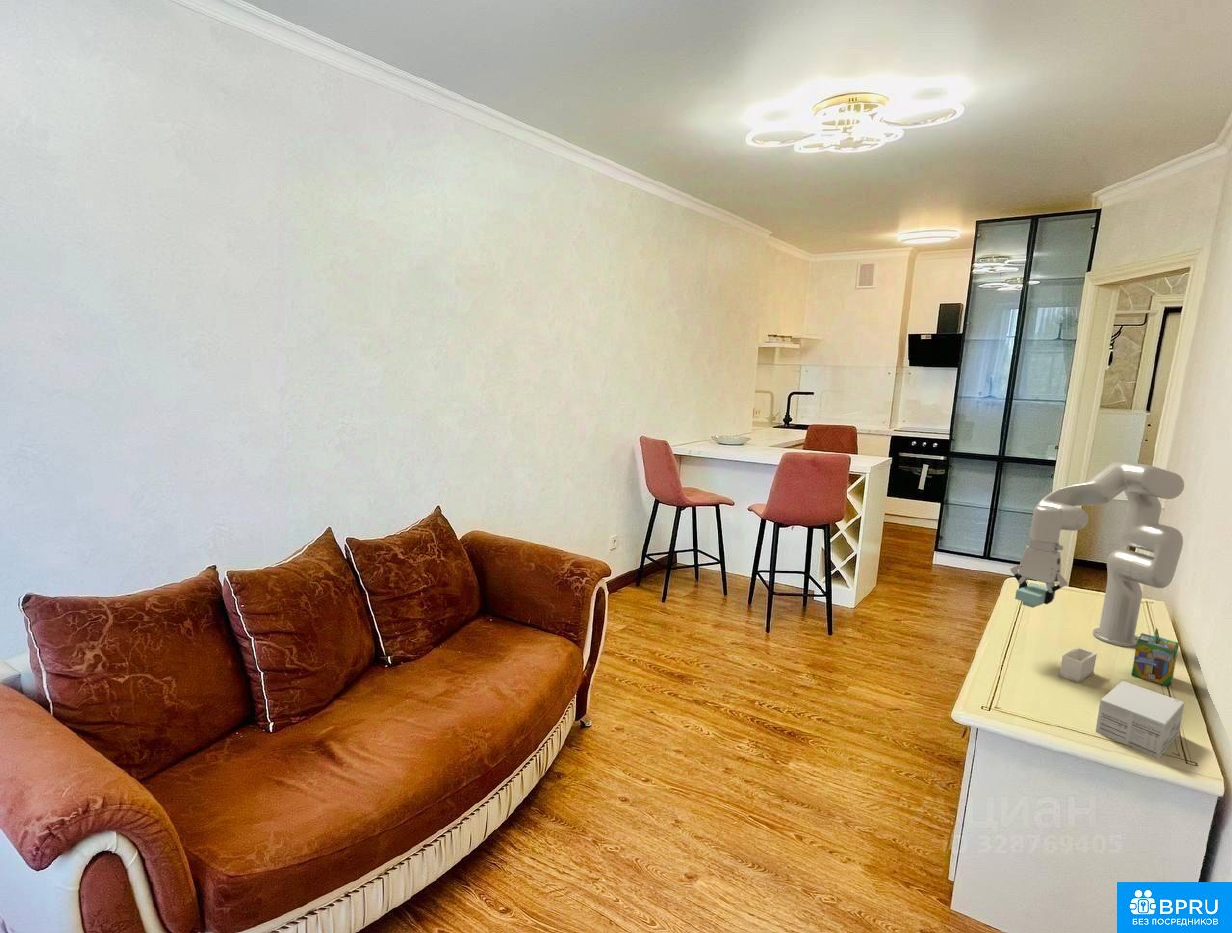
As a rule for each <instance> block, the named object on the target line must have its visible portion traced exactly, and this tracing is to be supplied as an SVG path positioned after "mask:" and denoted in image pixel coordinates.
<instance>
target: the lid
mask: <svg viewBox="0 0 1232 933" xmlns="http://www.w3.org/2000/svg"><path fill="white" fill-rule="evenodd" d="M1047 591H1048V589H1047V586H1044V585H1039V584H1036V583H1031V584H1027V586H1026V587H1023V588H1020V589H1019V588H1018V589H1016V591H1015V598H1014V599H1015V600H1018V601H1021V602H1022V603H1021V604H1022V606H1026V607H1029V608H1036V607H1038V606H1041V605H1045V603H1044V602H1045V595H1046V592H1047ZM1055 595H1056V591H1054V595H1053V600H1054V599H1055Z"/></svg>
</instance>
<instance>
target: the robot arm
mask: <svg viewBox="0 0 1232 933" xmlns="http://www.w3.org/2000/svg"><path fill="white" fill-rule="evenodd" d="M1184 489H1185V482H1184V479H1183V478H1182V476H1181V475H1180V474H1178V473H1176V472H1173V471H1169V470H1166V469H1164V468H1160V467H1157V466H1153V465H1149V464H1143V463H1137V462H1131V461H1124V460H1123V461H1122V460H1120V461H1119V460H1117V461H1114V462H1111V463H1109V464H1108V465H1107V466H1105V467H1104V468H1102V469H1101V470H1100V471H1099V472H1097V473H1095V475H1093V476H1092V477H1091V478H1089V479H1088V480H1087V481H1085V482H1082V483H1076V484H1072V485H1068V486H1065V487H1062V488H1058V489H1055V490H1054V491H1052V492H1050V493H1049V494H1047V495H1045V496H1044V497H1042V499H1041V500H1040V501H1039V502H1038V503H1037V504H1036V506H1035V507H1034V509H1033V512H1032V518H1031V525H1030V526H1031V527H1030V531H1029V539H1028V544H1027V545H1026V546H1025V548H1024V550H1023V553H1022V556H1021V558H1020V562H1019V563H1020V564H1018V565H1015V566H1013V567H1011V568H1010V572H1011V573H1012V574H1013V576H1014V578H1015V579H1016V581H1017V583H1018V589H1020V588H1023V587H1026V586H1028V583H1027V581H1028V580H1029V579H1030V580H1034V581H1038V582H1040V583H1044V584H1045V585H1046V586H1045V587H1047V589H1048V591H1047V592H1046V595H1045V602H1044V605H1049V604H1050V603H1052V602H1053V600H1054V599H1053V595H1054V591H1055V592H1056V591H1058V590H1061V589H1062V588H1064V587H1067V586H1068V585H1069V582H1067V581H1066V579H1065V577H1063V576H1062V575H1061V570H1062V569H1061V568H1062V565H1061V564H1062V559H1061V558H1062V556H1061V552H1060V551H1063V549H1064V545H1061V544H1060V535H1061V531H1073V532H1075V531H1079V530H1082V529H1084V528H1085V527H1086V526H1087V525H1088V523H1089V515H1088V513H1087V512H1086V510H1084V509H1082V508H1081V506H1083V507H1085V506H1088V507H1089V506H1100V505H1105V504H1107V503H1109V502H1111V501H1112V500H1113V499H1115V498H1116V497H1117V496H1118V495H1120V494H1121V493H1122V492H1124V493H1125V496H1126V498H1127V503H1128V504H1127V509H1126V510H1127V511H1126V512H1125V513H1126V514H1125V518H1124V521H1123V524H1122V528H1121V532H1120V540H1121V542H1122V543H1123V544H1124V545H1126V546H1129V547H1132V548H1135V549H1139V550H1143V551H1145V552H1149V553H1153V556H1151V555H1147V554H1144V553H1140V552H1137V551H1133V550H1130V549H1115V550H1113V551H1111V553H1109V555H1108V557H1107V560H1106V568H1107V570H1106V571H1107V581H1106V588H1105V593H1104V599H1103V605H1102V609H1101V617H1100V622H1099V627H1097V628H1094V629H1093V630H1092V635H1093V636H1094V637H1095V638H1097V639H1099V640H1100V641H1103V642H1105V643H1108V644H1111V645H1116V646H1118V647H1119V646H1120V647H1124V648H1125V647H1126V648H1134V647H1135V648H1136V644H1137V640H1138V639H1139V638H1138V637H1136V630H1137V624H1138V619H1139V614H1140V610H1141V604H1142V597H1143V592H1142V588H1141V585H1140V584H1142V585H1144V586H1148V587H1152V588H1156V589H1164V588H1166V587H1168V586H1169V585H1170V584H1171V583H1172V581H1173V579H1174V576H1175V574H1176V570H1177V567H1178V562H1179V560H1180V556H1181V555H1182V554H1181V553H1182V550H1183V545H1184V536H1183V535H1182V533H1181V532H1180V530H1179V529H1177V528H1175V527H1173V526H1169V525H1165V524H1161V523H1160V522H1159V521H1160V518H1161V513H1162V504H1161V502H1160V500H1159V498H1160V499H1163V500H1173V499H1176V498H1178V497H1180V495H1181V494H1182V493H1183V491H1184ZM1079 506H1080V507H1079ZM1055 582H1058V584H1057V585H1056V584H1055Z"/></svg>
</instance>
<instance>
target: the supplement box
mask: <svg viewBox="0 0 1232 933" xmlns="http://www.w3.org/2000/svg"><path fill="white" fill-rule="evenodd" d="M1099 702H1100V703H1099V707H1098V714H1097V719H1096V720H1097V721H1096V727H1095V732H1096V733H1098V734H1101V735H1102V736H1105V737H1108V738H1110V739H1112V740H1114V741H1117V742H1120V743H1122V744H1124V745H1127V746H1129V747H1130V748H1131V747H1132V748H1134V749H1137V750H1139V751H1141V752H1142V753H1143V752H1144V753H1145V754H1149V755H1151V756H1152V757H1155V758H1157V759H1159V758H1160V757H1161V756H1162V755H1163V754H1164V753H1165V752H1166V750H1167V749H1169V746H1170V745H1171V744H1173V742H1174V741H1175V739H1176V738H1177V736H1178V735H1180V730H1181V725H1182V724H1181V723H1182V719H1183V713H1184V707H1185V702H1183V701H1182V700H1179V699H1176V698H1174V697H1170V696H1167V695H1164V694H1161V693H1158V692H1156V691H1153V690H1151V689H1148V688H1144V687H1141V686H1139V685H1136V684H1134V683H1132V682H1131V683H1130V682H1127V681H1125V680H1122V681H1120V682H1119V683H1118V684H1117V685H1116V686H1114V687H1113V688H1112V689H1111V690H1110V691H1109V692H1108V693H1106V695H1104V696H1103V697H1102V698H1101V699H1100V701H1099Z"/></svg>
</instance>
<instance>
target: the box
mask: <svg viewBox="0 0 1232 933" xmlns="http://www.w3.org/2000/svg"><path fill="white" fill-rule="evenodd" d="M1061 658H1062V659H1061V663H1060V664H1061V665H1060V668H1059V674H1058V676H1059V677H1062V678H1064V679H1067V680H1070V681H1073V682H1075V683H1078V684H1079V683H1081V682H1083V681H1084V680H1086V679H1088V677H1090V676H1091V675H1093V674H1094V672H1095V668H1096V667H1095V666H1096V661H1097V653H1096V652H1093V651H1091V650H1087V649H1084V648H1081V647H1079V646H1077V647H1075V648H1073V649H1071V650H1070V651H1068V652H1066V653H1065V654H1063V655H1062V656H1061Z"/></svg>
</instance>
